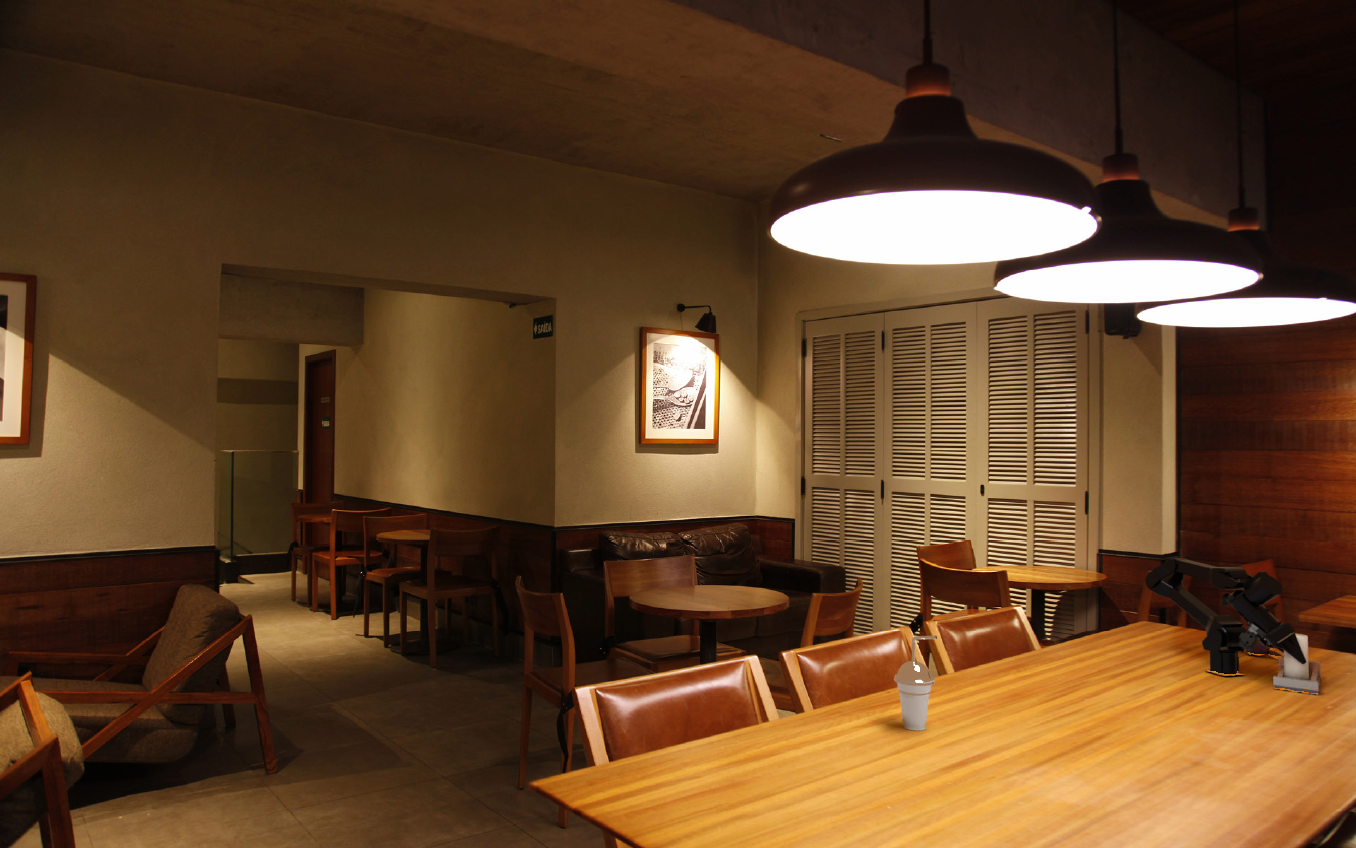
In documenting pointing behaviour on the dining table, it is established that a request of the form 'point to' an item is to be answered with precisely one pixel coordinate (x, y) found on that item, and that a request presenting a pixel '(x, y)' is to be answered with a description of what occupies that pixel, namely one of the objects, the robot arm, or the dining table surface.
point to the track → (1299, 684)
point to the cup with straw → (914, 690)
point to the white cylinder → (1295, 667)
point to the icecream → (1263, 649)
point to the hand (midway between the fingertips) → (1302, 663)
